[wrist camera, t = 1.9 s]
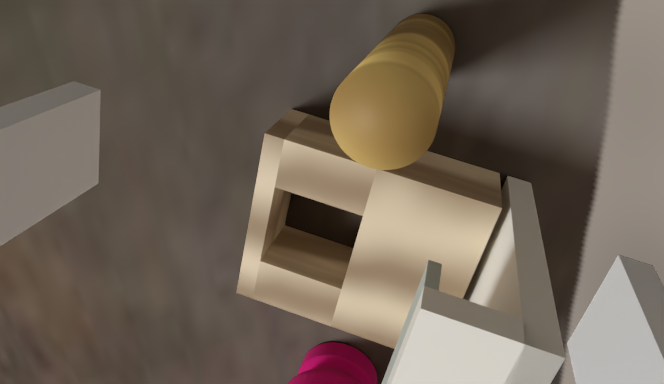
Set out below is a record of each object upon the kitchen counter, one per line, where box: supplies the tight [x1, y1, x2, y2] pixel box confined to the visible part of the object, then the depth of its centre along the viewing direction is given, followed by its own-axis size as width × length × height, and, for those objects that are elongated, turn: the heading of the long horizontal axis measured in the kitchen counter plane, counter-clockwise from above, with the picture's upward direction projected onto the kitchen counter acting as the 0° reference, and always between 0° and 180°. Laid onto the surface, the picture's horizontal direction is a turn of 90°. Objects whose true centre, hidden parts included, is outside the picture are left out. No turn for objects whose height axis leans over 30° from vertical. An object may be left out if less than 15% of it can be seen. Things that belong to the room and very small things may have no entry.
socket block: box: [236, 109, 502, 349], centre depth 35 cm, size 12×14×5 cm
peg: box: [329, 14, 455, 170], centre depth 26 cm, size 4×4×14 cm
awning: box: [382, 176, 565, 384], centre depth 30 cm, size 12×6×16 cm, turn 167°
